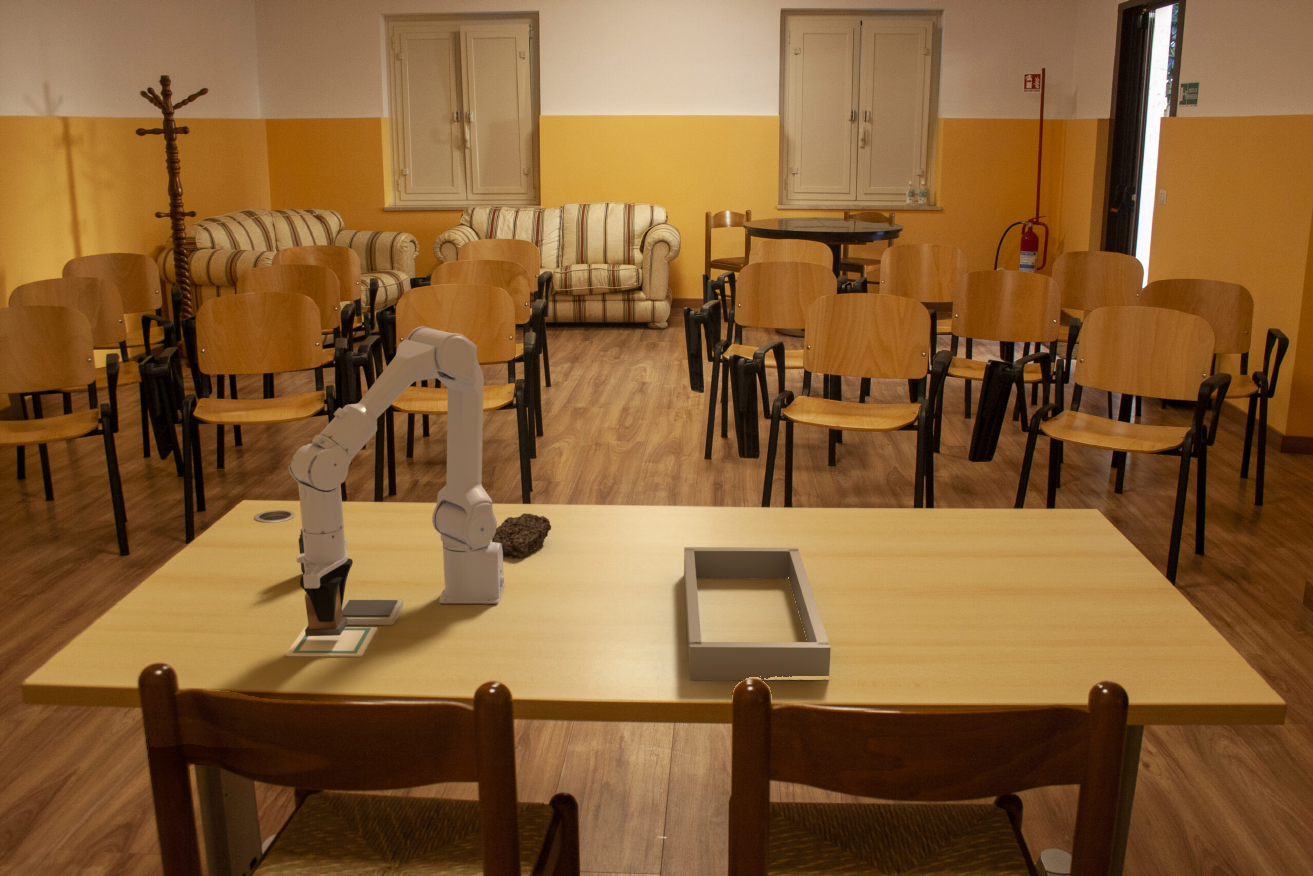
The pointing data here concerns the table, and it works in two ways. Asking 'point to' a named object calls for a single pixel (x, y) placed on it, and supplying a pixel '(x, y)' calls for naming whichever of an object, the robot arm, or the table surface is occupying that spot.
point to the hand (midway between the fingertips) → (330, 614)
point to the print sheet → (334, 643)
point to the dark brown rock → (522, 534)
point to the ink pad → (371, 611)
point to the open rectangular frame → (753, 656)
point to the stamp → (325, 627)
